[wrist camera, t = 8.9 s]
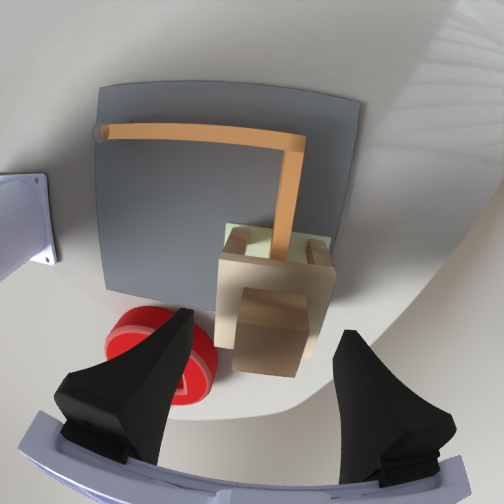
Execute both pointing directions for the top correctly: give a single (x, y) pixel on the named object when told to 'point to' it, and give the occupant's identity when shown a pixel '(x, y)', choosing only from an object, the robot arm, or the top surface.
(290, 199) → the rail
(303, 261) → the end pad
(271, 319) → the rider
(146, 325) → the decorative ornament
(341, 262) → the top surface
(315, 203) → the mat
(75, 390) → the robot arm
